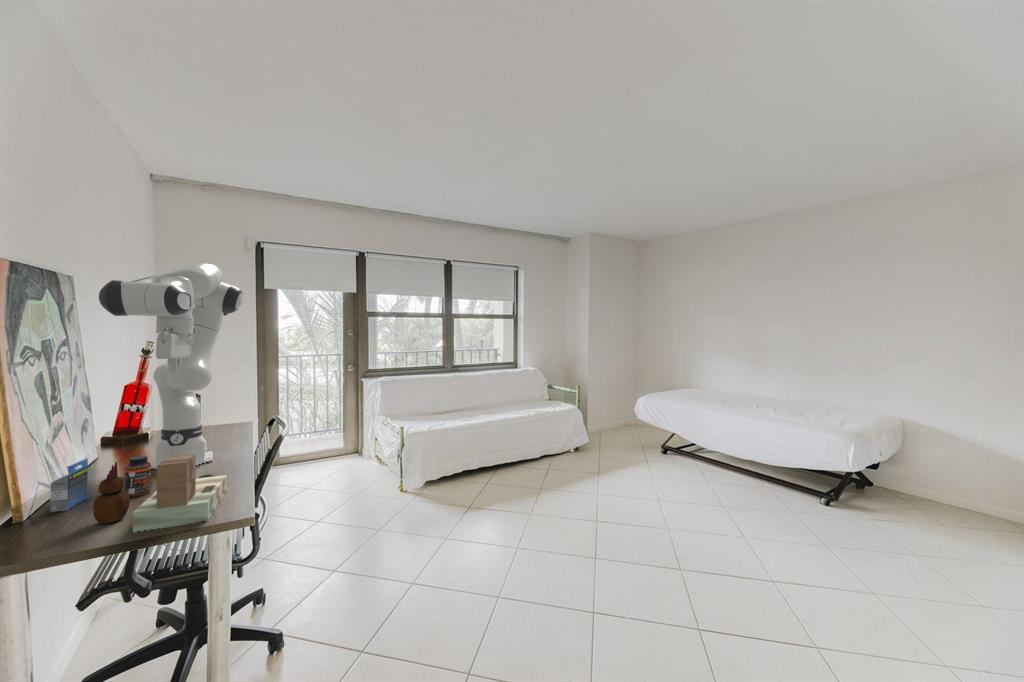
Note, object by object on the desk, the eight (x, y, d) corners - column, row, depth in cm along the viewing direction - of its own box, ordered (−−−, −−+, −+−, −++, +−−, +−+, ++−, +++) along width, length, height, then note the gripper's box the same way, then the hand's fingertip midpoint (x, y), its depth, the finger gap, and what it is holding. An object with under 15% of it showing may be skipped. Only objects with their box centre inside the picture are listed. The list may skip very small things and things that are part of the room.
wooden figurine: (114, 515, 107) (114, 459, 107) (134, 515, 107) (135, 460, 107) (86, 527, 101) (86, 467, 101) (108, 527, 100) (108, 468, 100)
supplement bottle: (134, 498, 119) (134, 460, 119) (119, 497, 120) (119, 459, 120) (156, 491, 124) (156, 455, 124) (141, 489, 126) (141, 453, 126)
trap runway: (166, 498, 119) (166, 481, 119) (226, 490, 125) (227, 474, 125) (132, 532, 98) (132, 512, 98) (207, 521, 104) (207, 502, 104)
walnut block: (167, 497, 107) (168, 456, 107) (195, 493, 110) (195, 454, 110) (156, 508, 100) (156, 465, 100) (186, 504, 103) (186, 462, 102)
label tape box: (70, 500, 117) (70, 459, 117) (88, 498, 118) (88, 457, 118) (48, 513, 109) (49, 468, 108) (68, 510, 110) (69, 466, 110)
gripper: (177, 327, 116) (176, 374, 116) (196, 329, 135) (196, 370, 135) (149, 326, 114) (148, 375, 113) (173, 329, 132) (172, 370, 132)
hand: (174, 372), depth 124 cm, fingers closed
